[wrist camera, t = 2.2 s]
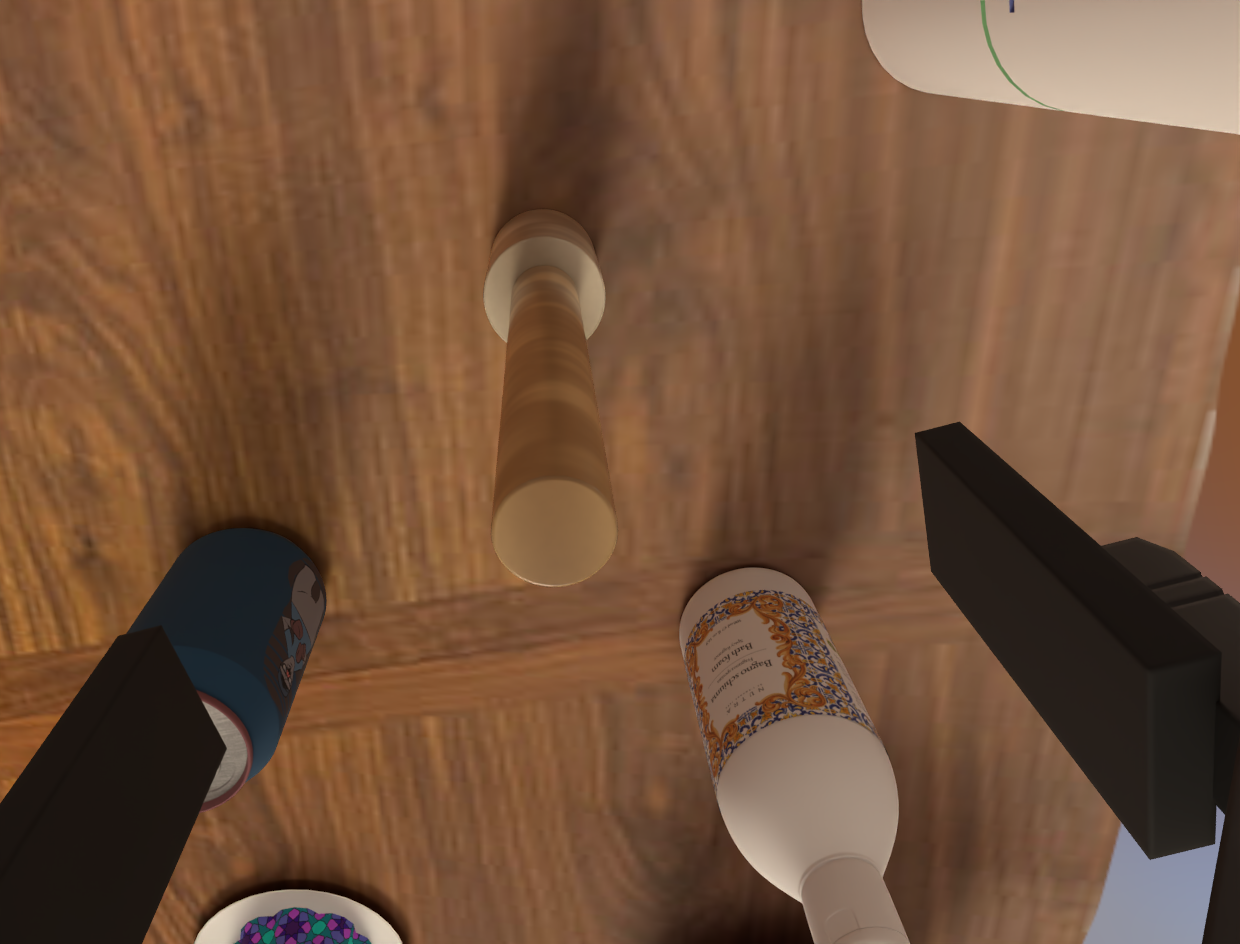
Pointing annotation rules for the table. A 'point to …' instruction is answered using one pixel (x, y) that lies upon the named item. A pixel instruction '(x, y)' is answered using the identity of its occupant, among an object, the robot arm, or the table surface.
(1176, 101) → the cylindrical container
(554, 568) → the wooden dowel
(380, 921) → the pudding
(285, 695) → the soda can
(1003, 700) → the table surface
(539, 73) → the table surface
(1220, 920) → the robot arm
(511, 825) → the table surface
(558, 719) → the table surface
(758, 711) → the bath foam
